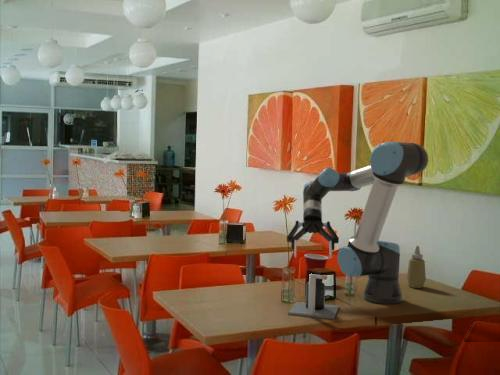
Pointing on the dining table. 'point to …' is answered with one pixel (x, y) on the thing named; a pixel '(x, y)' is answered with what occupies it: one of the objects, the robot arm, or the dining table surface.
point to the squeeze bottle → (416, 270)
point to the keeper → (313, 303)
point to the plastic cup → (315, 261)
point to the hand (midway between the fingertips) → (312, 255)
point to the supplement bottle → (317, 294)
